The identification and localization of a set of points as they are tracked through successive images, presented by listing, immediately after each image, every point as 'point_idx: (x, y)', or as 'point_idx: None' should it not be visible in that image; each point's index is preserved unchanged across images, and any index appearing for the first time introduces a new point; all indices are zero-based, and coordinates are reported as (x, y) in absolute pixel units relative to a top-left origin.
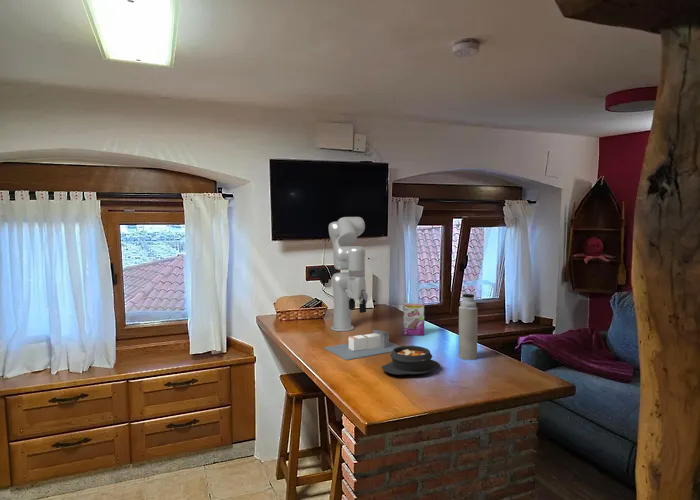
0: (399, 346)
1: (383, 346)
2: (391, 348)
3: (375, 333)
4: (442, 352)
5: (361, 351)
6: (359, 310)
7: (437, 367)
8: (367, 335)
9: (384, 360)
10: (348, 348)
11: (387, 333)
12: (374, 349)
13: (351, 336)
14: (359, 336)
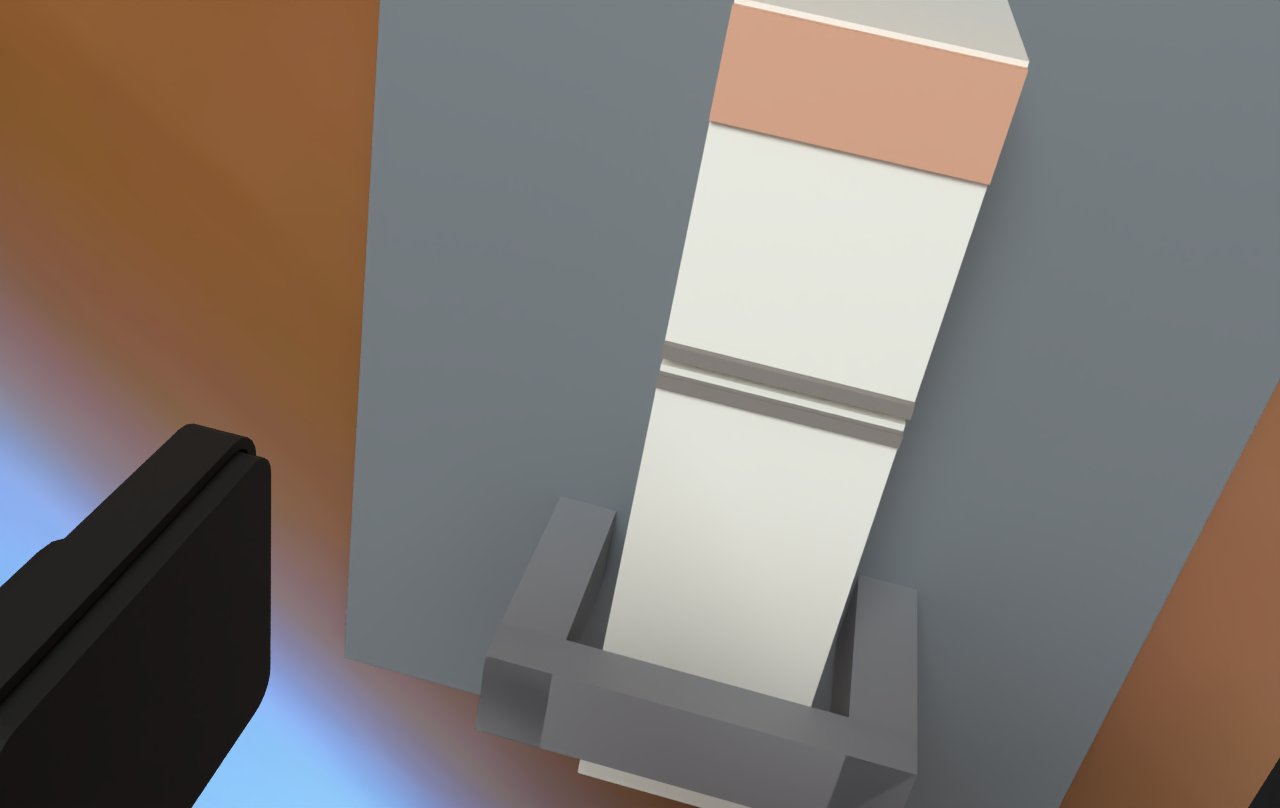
0: (470, 675)
1: (580, 513)
2: (462, 538)
3: (786, 683)
4: None
5: (665, 69)
6: (190, 480)
7: None
8: (790, 485)
9: (64, 30)
10: (1031, 16)
11: (478, 713)
12: (597, 329)
13: (967, 128)
14: (837, 293)
